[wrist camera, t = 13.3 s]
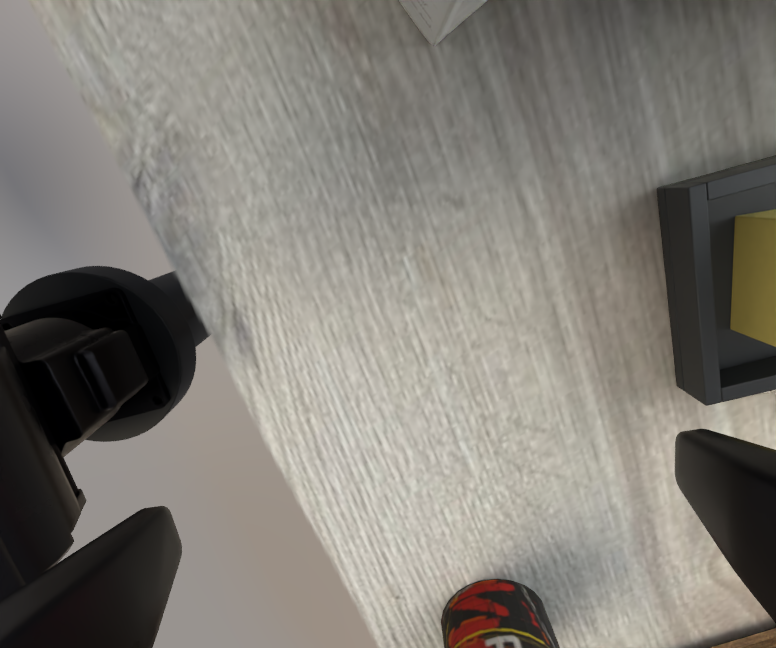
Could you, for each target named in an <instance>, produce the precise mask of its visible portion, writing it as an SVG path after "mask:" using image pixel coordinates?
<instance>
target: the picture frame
mask: <svg viewBox="0 0 776 648" xmlns="http://www.w3.org/2000/svg"><path fill="white" fill-rule="evenodd" d="M711 648H776V628H775V629H771V630H768V631H765V632H761V633H758V634H755V635H751V636H748V637H744V638H741V639H738V640H734V641H731V642H728V643H724V644H721V645H717V646H714V647H711Z"/></svg>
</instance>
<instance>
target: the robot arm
mask: <svg viewBox="0 0 776 648" xmlns="http://www.w3.org/2000/svg"><path fill="white" fill-rule="evenodd" d="M111 294H113V295H114V296H115V297H116V299H117V301H116V302H114V301H113V300H112V299H111ZM1 318H2V317H1V315H0V319H1ZM9 324H10V325H11V326H12V329H10V328H9ZM156 395H158V396H160V397H161V398H162V401H159V400H158V399H157V398H156ZM170 398H171V397H170V394H169V391H168V389H167V387H166V385H165V382H164V380H163V378H162V376H161V373H160V367H159V364H158V362H157V360H156V358H155V355H154V353H153V351H152V349H151V346H150V344H149V342H148V340H147V337H146V335H145V333H144V331H143V328H142V326H141V325H139V324H138V322H137V319H136V317H135V315H134V313H133V310H132V308H131V306H130V304H129V302H128V299H127V297H126V295H125V293H124V292H123V291H122V290H121V289H119V288H116V287H114V288H109V289H105V290H101V291H98V292H94V293H91V294H87V295H84V296H80V297H77V298H73V299H69V300H66V301H62V302H59V303H55V304H52V305H48V306H45V307H41V308H38V309H34V310H30V311H27V312H23V313H20V314H16V315H13V316H9V317H6V318H3V319H1V320H0V648H152V647H153V644H154V641H155V638H156V635H157V633H158V630H159V626H160V623H161V620H162V617H163V613H164V610H165V607H166V604H167V601H168V597H169V594H170V591H171V588H172V584H173V581H174V578H175V575H176V571H177V569H178V565H179V562H180V558H181V554H182V545H181V540H180V538H179V535H178V532H177V529H176V526H175V523H174V521H173V518H172V515H171V512H170V510H169V509H168V508H167V507H165V506H158V507H151V508H144V509H142V510H140V511H138V512H136V513H135V514H133V515H132V516H130V517H129V518H127V519H126V520H124V521H122V522H121V523H119V524H118V525H116V526H115V527H113V528H112V529H110V530H109V531H107V532H105V533H104V534H102V535H101V536H99V537H98V538H96V539H95V540H93V541H91V542H90V543H89V544H87V545H85V546H84V547H82V548H81V549H79V550H78V551H76V552H75V553H73V554H71V555H70V556H68V557H67V558H65V559H64V560H62V561H61V562H59V561H60V560H61V559H62V557H63V556H64V555H65V554H66V553H67V552H68V551H69V549H70V547H71V546H72V544H73V542H74V539H73V537H72V535H71V532H72V531H73V530H74V527H75V525H76V523H77V521H78V518H79V516H80V514H81V511H82V509H83V506H84V505H85V503H86V499H85V496H84V494H83V492H82V490H81V489H78V488H77V486H76V484H75V482H74V480H73V478H72V475H71V473H70V471H69V469H68V467H67V465H66V462H65V460H64V458H63V457H64V456H66V455H67V454H68V453H69V452H70V451H72V450H73V449H74V448H75V447H77V446H78V445H79V444H80V443H81V442H83V441H84V440H85V439H86V438H88V437H89V436H90V435H91V434H92V433H94V432H95V431H96V430H97V429H99V428H100V427H101V426H102V425H103V424H105V423H107V422H111V421H115V420H119V419H122V418H126V417H130V416H134V415H138V414H142V413H145V412H149V411H153V410H157V409H161V408H163V407H165V406H166V405H167V404H168V403H169V401H170ZM675 477H676V481H677V484H678V486H679V488H680V490H681V491H682V493H683V494H684V496H685V497H686V499H687V500H688V502H689V503H690V505H691V506H692V508H693V510H694V511H695V513H696V514H697V516H698V517H699V519H700V520H701V522H702V523H703V525H704V526H705V528H706V529H707V531H708V532H709V534H710V535H711V537H712V538H713V540H714V541H715V543H716V544H717V546H718V547H719V549H720V550H721V552H722V553H723V555H724V556H725V558H726V559H727V561H728V562H729V564H730V565H731V567H732V568H733V569H734V571H735V572H736V573H737V575H738V576H739V577H740V579H741V580H742V581H743V583H744V584H745V585H746V586H747V588H748V589H749V590H750V592H751V593H752V594H753V595H754V597H755V598H756V599H757V600H758V602H759V603H760V604H761V605H762V607H763V608H764V609H765V610H766V612H767V613H768V614H769V615H770V617H771V618H772V619H773V620H774V622H775V623H776V450H774V449H770V448H767V447H764V446H760V445H757V444H754V443H750V442H747V441H744V440H740V439H737V438H734V437H730V436H727V435H724V434H720V433H717V432H714V431H710V430H707V429H697V430H690V431H683V432H680V433H679V434H678V435H677V437H676V441H675ZM58 562H59V563H58Z"/></svg>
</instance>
